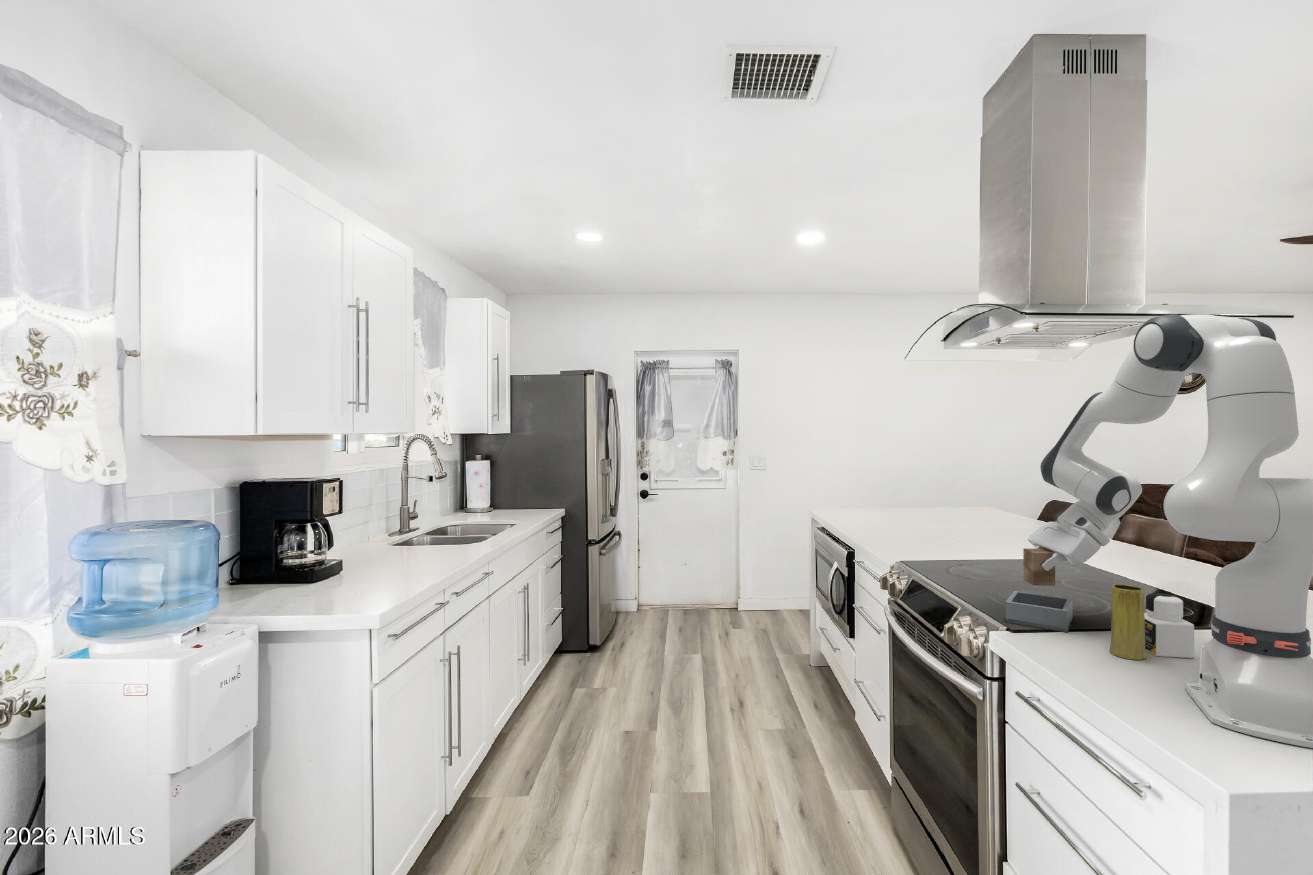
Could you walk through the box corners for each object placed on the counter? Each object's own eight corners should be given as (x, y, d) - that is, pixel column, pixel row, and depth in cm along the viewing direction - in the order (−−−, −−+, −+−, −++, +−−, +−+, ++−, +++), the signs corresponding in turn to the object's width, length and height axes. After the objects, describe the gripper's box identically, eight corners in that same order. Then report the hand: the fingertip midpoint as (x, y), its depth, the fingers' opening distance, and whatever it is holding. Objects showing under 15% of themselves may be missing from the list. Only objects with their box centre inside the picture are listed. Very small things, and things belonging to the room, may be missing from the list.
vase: (1110, 656, 126) (1110, 588, 126) (1108, 647, 131) (1108, 581, 131) (1147, 662, 122) (1147, 592, 122) (1144, 653, 127) (1144, 585, 127)
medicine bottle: (1135, 644, 132) (1135, 590, 132) (1172, 646, 131) (1173, 591, 131) (1155, 656, 125) (1155, 599, 125) (1194, 658, 124) (1195, 600, 124)
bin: (1067, 632, 140) (1067, 611, 140) (1005, 622, 148) (1005, 601, 148) (1072, 618, 150) (1072, 598, 150) (1014, 609, 158) (1014, 590, 158)
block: (1055, 585, 146) (1055, 552, 146) (1033, 585, 147) (1033, 552, 147) (1044, 580, 151) (1044, 548, 151) (1023, 579, 152) (1023, 548, 152)
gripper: (1047, 510, 158) (1007, 547, 160) (1093, 523, 138) (1048, 565, 139) (1065, 527, 158) (1025, 564, 159) (1114, 543, 138) (1068, 585, 139)
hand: (1036, 565), depth 149 cm, fingers closed on block, 5 cm apart
